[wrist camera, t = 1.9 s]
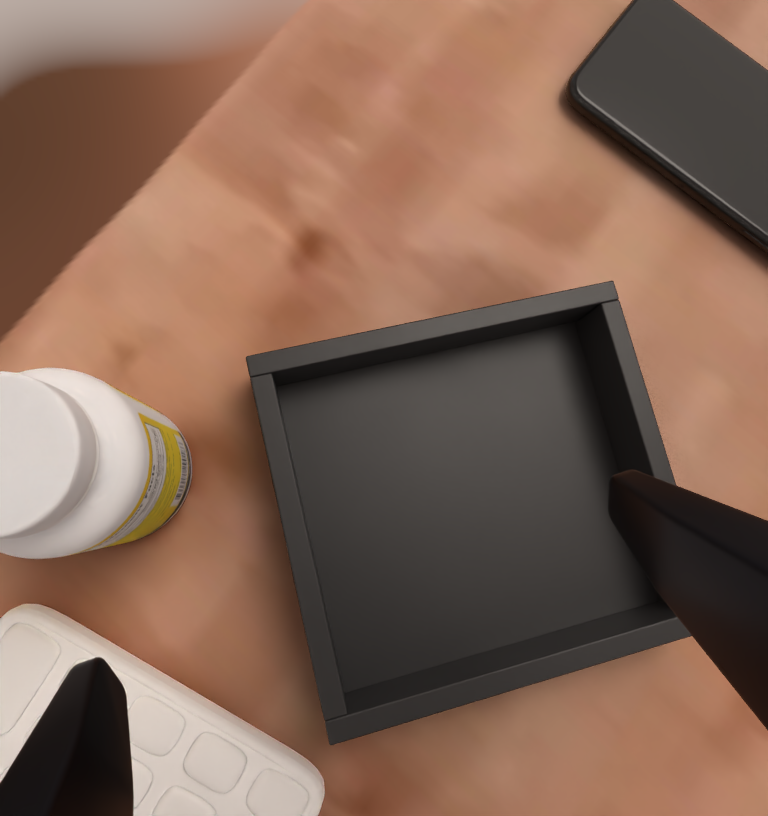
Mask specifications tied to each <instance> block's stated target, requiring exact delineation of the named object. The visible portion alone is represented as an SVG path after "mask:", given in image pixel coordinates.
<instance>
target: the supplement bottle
mask: <svg viewBox="0 0 768 816" xmlns="http://www.w3.org/2000/svg"><path fill="white" fill-rule="evenodd" d="M191 479H192V459H191V453H190V450H189V447H188V444H187V442H186V440H185V438H184V436H183V435H182V433H181V432H180V430H179V429H178V428H177V427H176V425H175V424H174V423H173V422H172V421H171V420H169V419H168V418H167V417H166V416H164V415H163V414H161V413H160V412H159V411H157V410H155V409H153V408H152V407H150V406H148V405H146V404H145V403H143V402H141V401H139V400H137V399H135V398H133V397H131V396H130V395H128V394H126V393H124V392H122V391H120V390H118V389H117V388H115V387H113V386H111V385H109V384H107V383H106V382H104V381H102V380H100V379H98V378H95V377H93V376H90V375H88V374H85V373H82V372H78V371H75V370H69V369H62V368H38V369H32V370H27V371H22V372H19V373H14V372H6V371H0V552H1V553H4V554H7V555H10V556H15V557H20V558H28V559H45V558H56V557H64V556H68V555H73V554H78V553H82V552H86V551H91V550H95V549H100V548H104V547H109V546H114V545H118V544H123V543H127V542H131V541H134V540H137V539H140V538H143V537H145V536H147V535H149V534H151V533H153V532H155V531H157V530H158V529H160V528H161V527H162V526H164V525H165V524H166V523H167V522H168V521H169V520H170V519H171V518H172V517H173V516H174V515H175V514H176V513H177V512H178V510H179V509H180V507H181V506H182V504H183V502H184V500H185V498H186V496H187V494H188V491H189V488H190V484H191Z"/></svg>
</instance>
